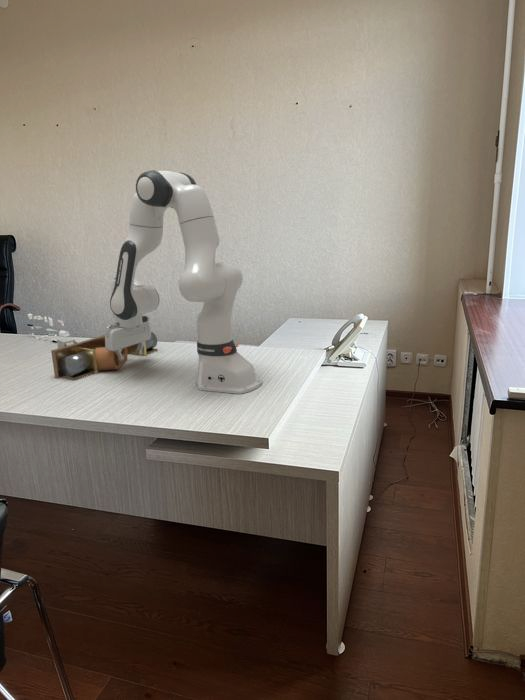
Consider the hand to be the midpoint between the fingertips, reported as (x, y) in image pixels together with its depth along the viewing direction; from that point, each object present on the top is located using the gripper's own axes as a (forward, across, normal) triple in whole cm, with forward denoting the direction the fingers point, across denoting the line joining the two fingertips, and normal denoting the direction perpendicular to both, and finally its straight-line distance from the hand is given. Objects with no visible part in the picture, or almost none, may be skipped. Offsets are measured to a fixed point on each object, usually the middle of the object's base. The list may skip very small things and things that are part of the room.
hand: (130, 357), depth 196 cm
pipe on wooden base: (+4, 0, +9) cm, 10 cm away
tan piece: (-1, -1, +4) cm, 4 cm away
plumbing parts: (+4, +12, +62) cm, 63 cm away
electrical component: (+4, +3, +34) cm, 34 cm away
